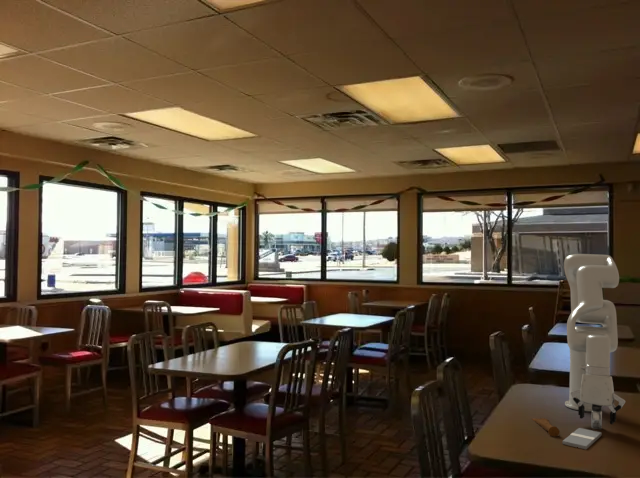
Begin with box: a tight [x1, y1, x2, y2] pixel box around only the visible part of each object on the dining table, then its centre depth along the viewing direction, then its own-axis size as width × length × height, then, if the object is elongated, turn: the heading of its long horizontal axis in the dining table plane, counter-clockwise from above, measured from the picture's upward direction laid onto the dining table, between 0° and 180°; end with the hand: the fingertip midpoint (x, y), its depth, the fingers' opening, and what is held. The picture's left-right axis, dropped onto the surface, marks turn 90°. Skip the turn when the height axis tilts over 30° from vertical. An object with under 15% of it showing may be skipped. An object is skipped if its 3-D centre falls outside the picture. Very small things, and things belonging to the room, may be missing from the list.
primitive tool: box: [531, 417, 561, 437], centre depth 197 cm, size 19×6×4 cm, turn 176°
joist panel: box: [562, 427, 602, 450], centre depth 185 cm, size 18×7×1 cm, turn 140°
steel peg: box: [590, 404, 603, 430], centre depth 198 cm, size 3×3×8 cm
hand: (596, 420), depth 198 cm, fingers open, 9 cm apart
